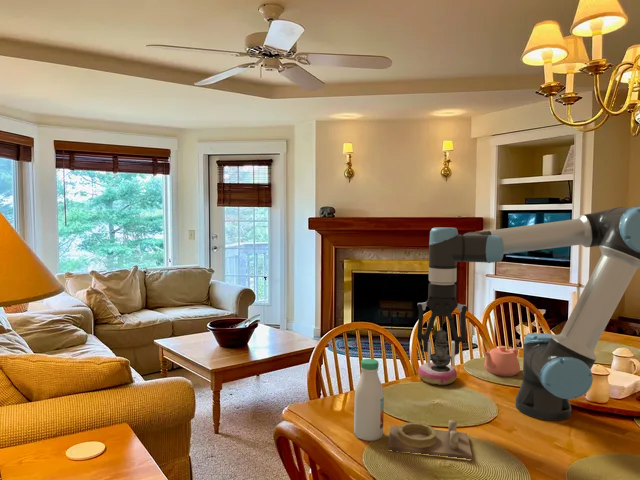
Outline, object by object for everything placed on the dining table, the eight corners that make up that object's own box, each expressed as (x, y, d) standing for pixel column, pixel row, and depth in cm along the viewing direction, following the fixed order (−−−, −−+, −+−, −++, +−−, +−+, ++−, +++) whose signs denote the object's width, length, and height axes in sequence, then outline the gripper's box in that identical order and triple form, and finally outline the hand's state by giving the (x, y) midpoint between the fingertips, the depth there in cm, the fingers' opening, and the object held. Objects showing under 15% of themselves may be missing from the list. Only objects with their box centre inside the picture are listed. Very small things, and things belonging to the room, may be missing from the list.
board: (467, 437, 125) (467, 418, 124) (471, 461, 113) (472, 439, 113) (390, 429, 129) (391, 410, 129) (387, 451, 117) (387, 430, 117)
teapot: (530, 373, 176) (531, 347, 175) (497, 381, 167) (498, 354, 166) (502, 363, 186) (503, 339, 186) (470, 370, 177) (471, 346, 177)
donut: (437, 371, 177) (437, 358, 177) (465, 382, 165) (465, 368, 165) (410, 377, 170) (410, 363, 170) (437, 389, 158) (437, 375, 158)
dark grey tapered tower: (452, 373, 130) (453, 330, 129) (430, 371, 131) (431, 328, 131) (450, 366, 136) (451, 325, 135) (429, 364, 137) (430, 323, 136)
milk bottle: (375, 444, 121) (376, 367, 119) (348, 436, 125) (349, 362, 123) (387, 432, 127) (389, 359, 126) (362, 425, 131) (363, 354, 130)
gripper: (476, 281, 134) (474, 362, 135) (408, 279, 138) (407, 357, 139) (479, 286, 126) (477, 371, 128) (407, 283, 130) (406, 365, 132)
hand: (440, 363), depth 133 cm, fingers closed on dark grey tapered tower, 6 cm apart
